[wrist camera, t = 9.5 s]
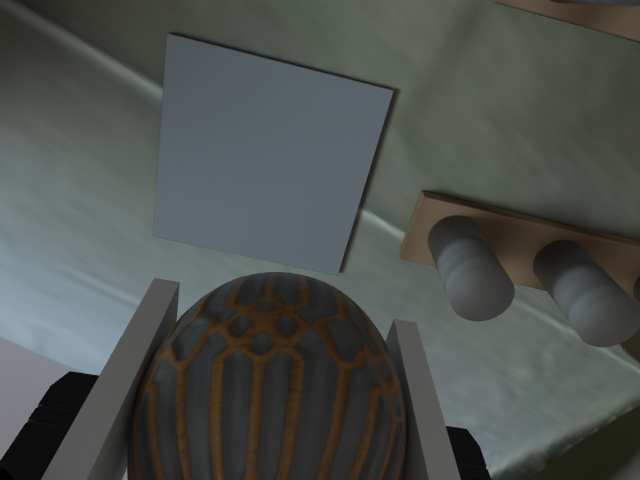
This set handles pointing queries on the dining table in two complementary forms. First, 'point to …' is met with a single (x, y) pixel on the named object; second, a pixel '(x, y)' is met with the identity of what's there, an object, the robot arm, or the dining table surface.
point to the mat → (262, 155)
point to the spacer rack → (535, 232)
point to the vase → (270, 390)
